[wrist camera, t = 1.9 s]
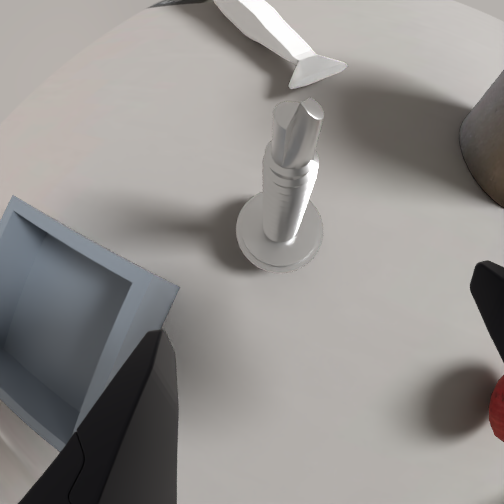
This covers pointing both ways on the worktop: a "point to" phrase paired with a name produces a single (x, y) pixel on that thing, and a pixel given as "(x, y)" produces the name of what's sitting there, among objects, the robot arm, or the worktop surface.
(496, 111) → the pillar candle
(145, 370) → the robot arm
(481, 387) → the worktop surface
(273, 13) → the white fish figurine
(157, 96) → the worktop surface
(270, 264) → the screw
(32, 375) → the tote
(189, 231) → the worktop surface
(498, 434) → the pomegranate
